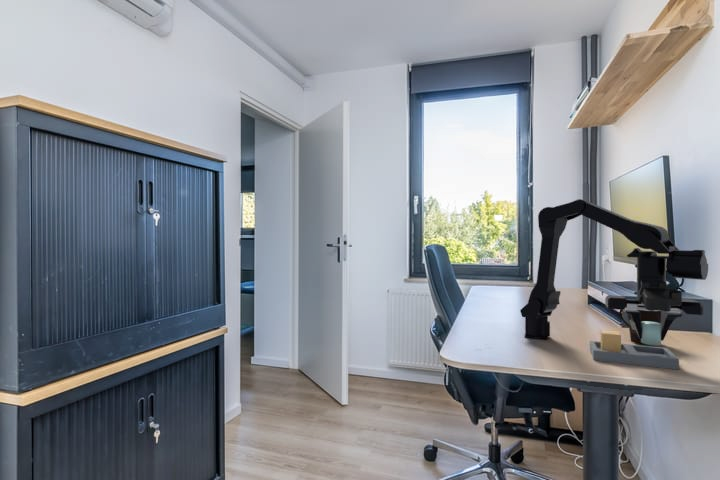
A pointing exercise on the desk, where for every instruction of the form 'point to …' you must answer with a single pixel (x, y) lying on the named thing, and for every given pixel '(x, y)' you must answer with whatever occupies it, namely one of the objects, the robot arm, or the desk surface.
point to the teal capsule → (651, 333)
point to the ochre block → (610, 341)
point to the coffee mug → (644, 316)
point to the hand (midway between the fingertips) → (650, 339)
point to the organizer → (636, 355)
